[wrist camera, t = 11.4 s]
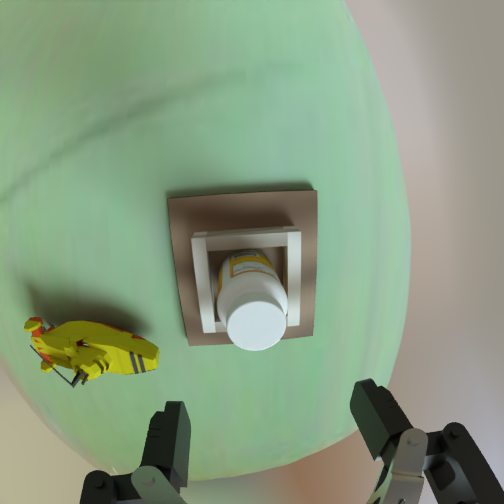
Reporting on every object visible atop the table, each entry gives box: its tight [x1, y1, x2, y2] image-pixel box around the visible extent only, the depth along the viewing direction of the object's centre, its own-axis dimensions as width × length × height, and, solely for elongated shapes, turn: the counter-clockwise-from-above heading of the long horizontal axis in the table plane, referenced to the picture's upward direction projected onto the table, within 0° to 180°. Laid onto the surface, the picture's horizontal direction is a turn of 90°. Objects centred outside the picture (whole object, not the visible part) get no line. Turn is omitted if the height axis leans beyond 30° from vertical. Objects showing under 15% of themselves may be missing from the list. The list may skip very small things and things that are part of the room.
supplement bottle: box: [217, 250, 288, 351], centre depth 22 cm, size 5×5×10 cm
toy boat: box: [24, 317, 159, 388], centre depth 24 cm, size 6×18×10 cm, turn 89°
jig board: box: [167, 190, 317, 346], centre depth 26 cm, size 16×14×4 cm
